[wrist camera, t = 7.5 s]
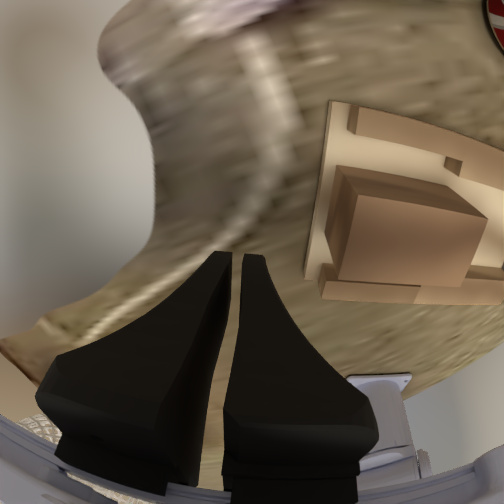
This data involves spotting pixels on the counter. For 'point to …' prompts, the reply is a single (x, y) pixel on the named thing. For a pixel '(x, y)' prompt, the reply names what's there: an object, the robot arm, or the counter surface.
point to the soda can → (496, 19)
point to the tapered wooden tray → (419, 167)
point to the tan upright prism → (400, 229)
